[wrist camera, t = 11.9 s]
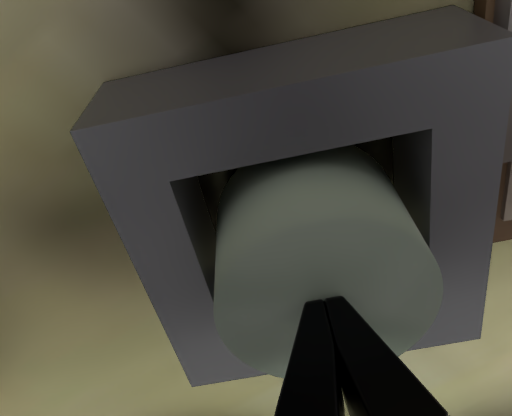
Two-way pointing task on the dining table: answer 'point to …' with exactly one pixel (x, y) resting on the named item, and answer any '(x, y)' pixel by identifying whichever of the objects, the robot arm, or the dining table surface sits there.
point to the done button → (318, 254)
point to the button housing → (304, 142)
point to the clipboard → (508, 208)
